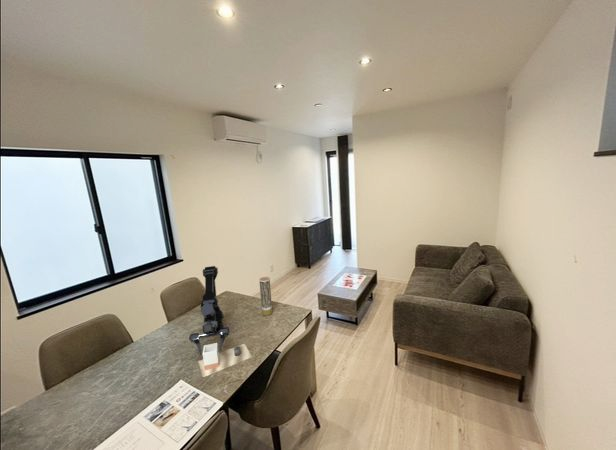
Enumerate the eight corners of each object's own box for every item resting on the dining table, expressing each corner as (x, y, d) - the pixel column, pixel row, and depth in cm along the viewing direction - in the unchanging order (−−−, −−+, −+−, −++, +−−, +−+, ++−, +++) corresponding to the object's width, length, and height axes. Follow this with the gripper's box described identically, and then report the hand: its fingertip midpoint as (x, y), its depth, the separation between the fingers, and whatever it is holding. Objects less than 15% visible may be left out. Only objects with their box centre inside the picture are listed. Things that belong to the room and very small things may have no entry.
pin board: (202, 379, 118) (201, 371, 118) (198, 362, 129) (197, 355, 128) (252, 358, 130) (251, 351, 130) (244, 345, 141) (243, 338, 141)
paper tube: (270, 316, 170) (267, 281, 165) (260, 315, 171) (257, 280, 166) (273, 311, 176) (271, 277, 172) (264, 310, 178) (261, 276, 173)
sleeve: (204, 370, 123) (202, 353, 121) (206, 361, 129) (203, 345, 127) (218, 367, 124) (216, 350, 123) (219, 358, 130) (217, 342, 129)
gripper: (187, 319, 124) (186, 354, 116) (227, 312, 129) (229, 345, 121) (191, 325, 133) (191, 358, 124) (228, 318, 138) (230, 349, 129)
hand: (210, 352), depth 125 cm, fingers open, 9 cm apart
